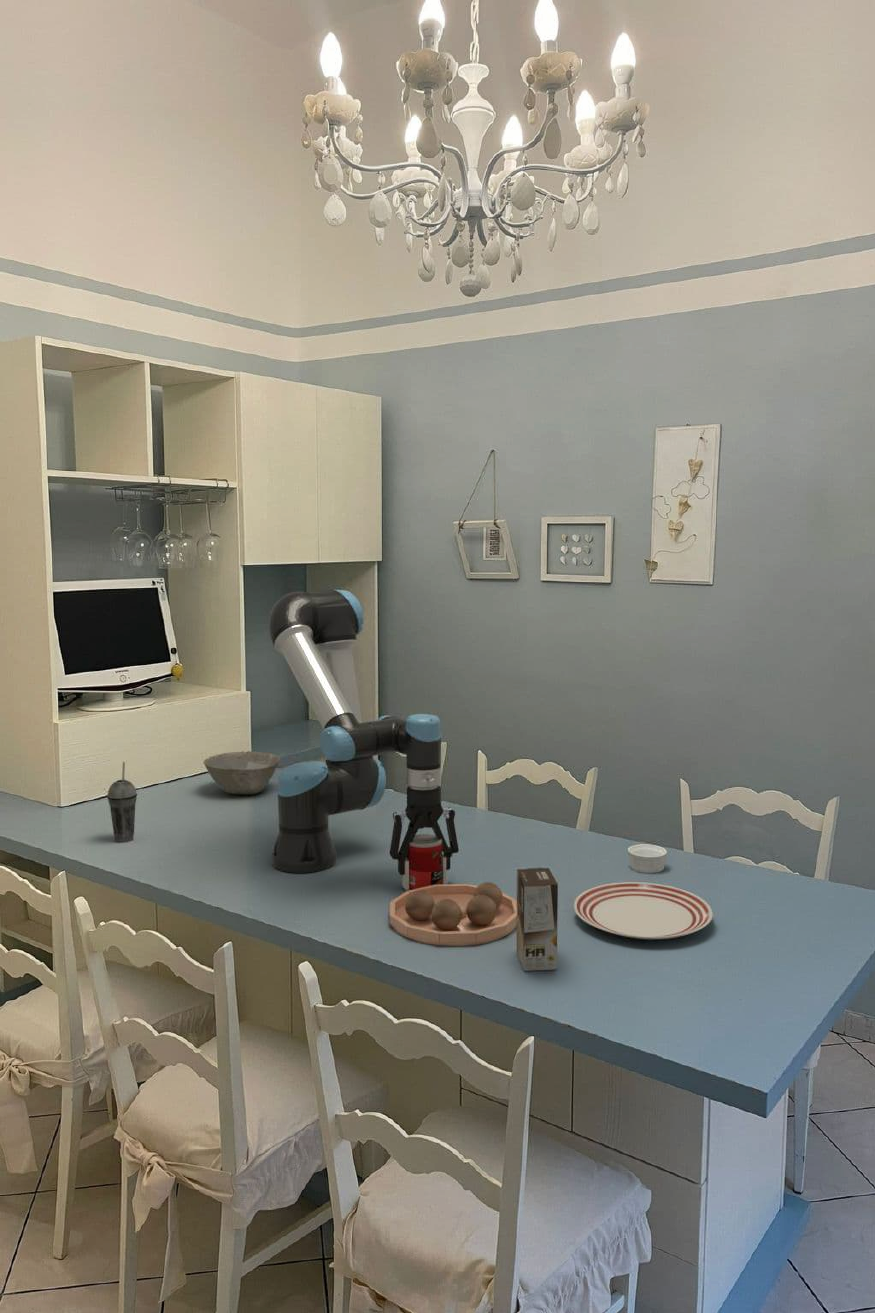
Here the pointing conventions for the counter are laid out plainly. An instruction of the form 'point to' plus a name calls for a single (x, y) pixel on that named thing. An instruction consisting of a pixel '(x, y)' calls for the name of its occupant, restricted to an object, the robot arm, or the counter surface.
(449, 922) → the seated beads
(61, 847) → the counter surface
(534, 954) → the coffee box
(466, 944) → the tray
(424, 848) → the canned food
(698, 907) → the dinner plate
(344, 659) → the robot arm
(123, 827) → the beverage cup
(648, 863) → the ramekin
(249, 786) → the ceramic bowl
